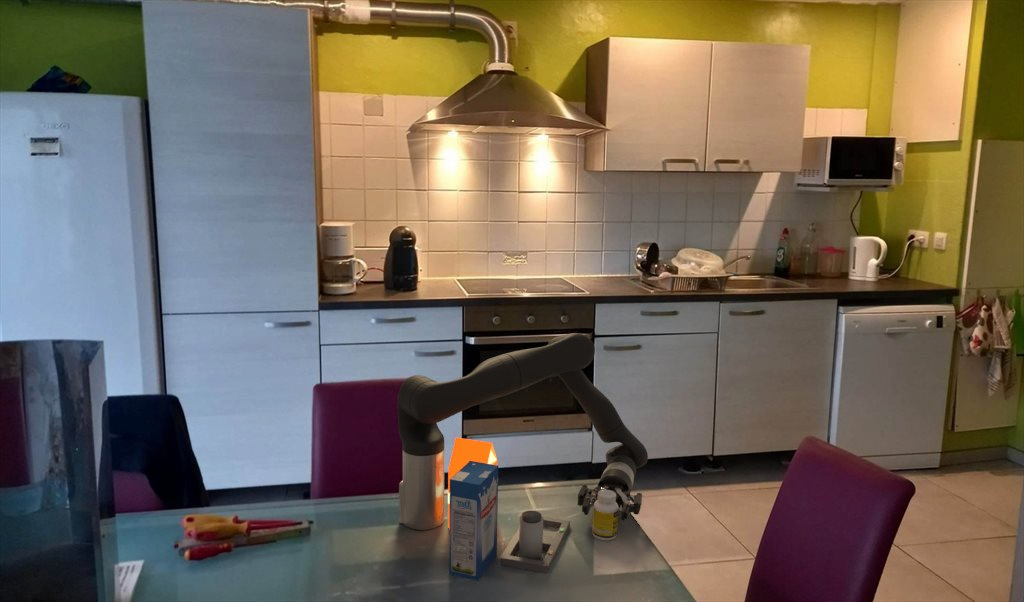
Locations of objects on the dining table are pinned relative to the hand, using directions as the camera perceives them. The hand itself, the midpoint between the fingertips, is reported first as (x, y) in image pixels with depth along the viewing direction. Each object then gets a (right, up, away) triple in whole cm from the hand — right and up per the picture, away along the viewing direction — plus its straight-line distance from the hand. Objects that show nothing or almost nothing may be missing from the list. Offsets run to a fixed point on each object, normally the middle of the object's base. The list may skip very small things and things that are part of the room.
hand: (604, 513), depth 161 cm
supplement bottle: (+1, -6, +3) cm, 7 cm away
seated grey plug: (-16, -7, -6) cm, 19 cm away
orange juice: (-29, -4, +7) cm, 30 cm away
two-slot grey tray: (-15, -6, -2) cm, 16 cm away
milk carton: (-28, -8, -10) cm, 30 cm away
